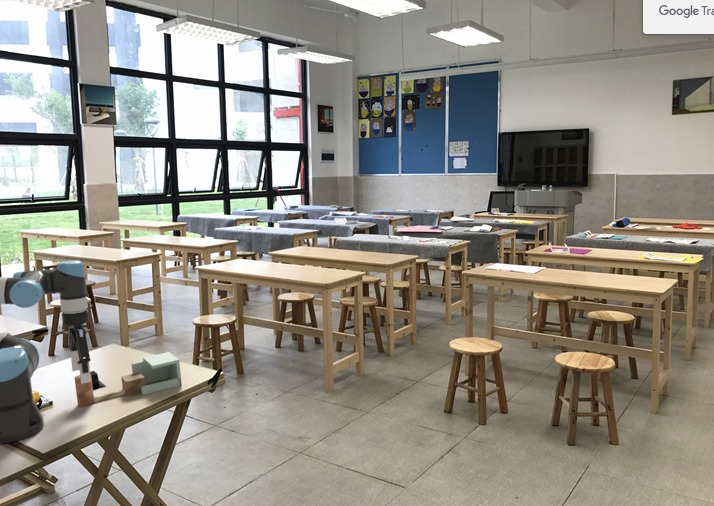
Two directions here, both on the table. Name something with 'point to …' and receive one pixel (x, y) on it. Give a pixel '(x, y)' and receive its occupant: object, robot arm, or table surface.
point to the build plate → (96, 381)
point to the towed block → (129, 385)
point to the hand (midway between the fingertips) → (81, 376)
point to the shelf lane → (158, 372)
